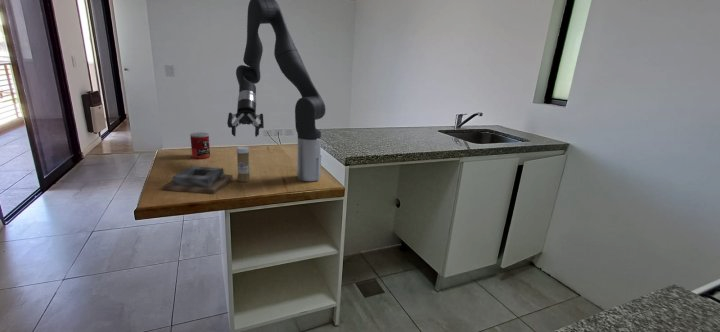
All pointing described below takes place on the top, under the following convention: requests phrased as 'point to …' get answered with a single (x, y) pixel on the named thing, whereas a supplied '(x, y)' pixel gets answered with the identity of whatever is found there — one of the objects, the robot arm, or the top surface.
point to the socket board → (200, 189)
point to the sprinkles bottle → (243, 163)
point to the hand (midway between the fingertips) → (245, 135)
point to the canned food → (200, 145)
